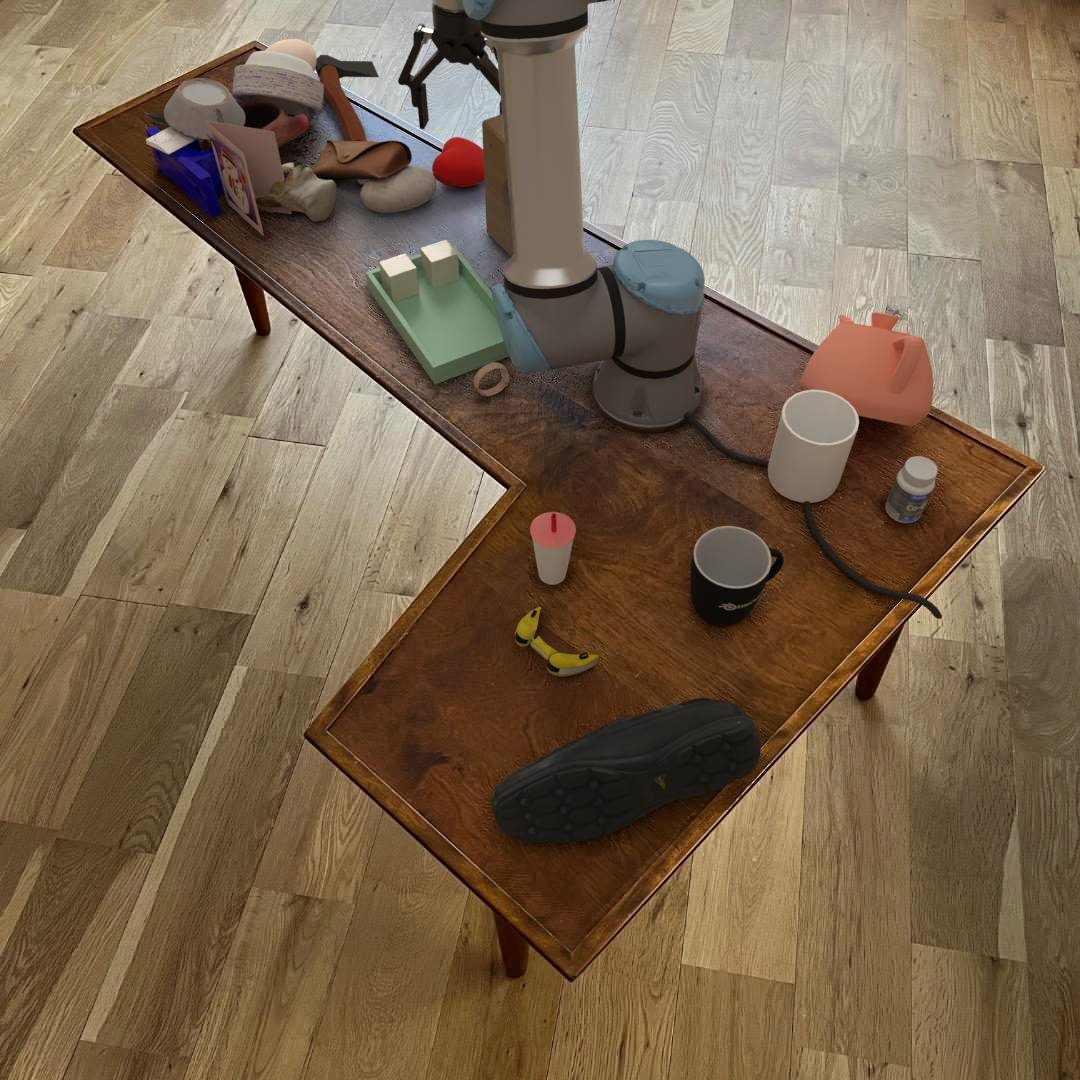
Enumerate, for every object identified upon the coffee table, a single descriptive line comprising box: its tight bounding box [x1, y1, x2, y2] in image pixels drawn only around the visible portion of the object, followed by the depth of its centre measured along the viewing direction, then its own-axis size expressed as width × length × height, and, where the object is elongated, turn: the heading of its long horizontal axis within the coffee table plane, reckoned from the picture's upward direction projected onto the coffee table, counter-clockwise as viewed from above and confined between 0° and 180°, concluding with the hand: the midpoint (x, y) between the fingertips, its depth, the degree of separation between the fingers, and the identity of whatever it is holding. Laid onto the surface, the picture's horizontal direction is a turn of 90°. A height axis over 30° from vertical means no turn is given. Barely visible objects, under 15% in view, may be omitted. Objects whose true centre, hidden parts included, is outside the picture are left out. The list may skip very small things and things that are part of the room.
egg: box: [264, 38, 317, 73], centre depth 198 cm, size 9×9×12 cm
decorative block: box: [481, 113, 514, 258], centre depth 166 cm, size 11×6×20 cm, turn 32°
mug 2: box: [767, 390, 860, 504], centre depth 141 cm, size 10×12×12 cm
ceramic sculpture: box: [253, 160, 337, 222], centre depth 177 cm, size 11×9×15 cm
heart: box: [431, 136, 485, 188], centre depth 183 cm, size 12×5×10 cm
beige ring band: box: [473, 361, 511, 397], centre depth 152 cm, size 3×5×5 cm, turn 118°
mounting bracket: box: [145, 125, 225, 219], centre depth 181 cm, size 18×7×6 cm
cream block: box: [419, 239, 460, 289], centre depth 166 cm, size 4×4×5 cm
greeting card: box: [206, 121, 293, 237], centre depth 173 cm, size 11×7×15 cm, turn 40°
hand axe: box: [315, 54, 380, 141], centre depth 197 cm, size 12×3×30 cm
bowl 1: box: [163, 77, 246, 141], centre depth 179 cm, size 13×13×5 cm
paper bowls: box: [231, 50, 324, 117], centre depth 189 cm, size 15×15×8 cm
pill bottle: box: [884, 455, 939, 524], centre depth 138 cm, size 5×5×8 cm
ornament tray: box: [365, 242, 509, 385], centre depth 162 cm, size 24×15×3 cm, turn 29°
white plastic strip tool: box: [145, 126, 196, 154], centre depth 180 cm, size 5×15×1 cm, turn 145°
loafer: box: [491, 697, 762, 844], centre depth 116 cm, size 10×29×10 cm
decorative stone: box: [359, 165, 438, 214], centre depth 178 cm, size 13×9×5 cm
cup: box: [529, 511, 577, 586], centre depth 131 cm, size 5×5×12 cm
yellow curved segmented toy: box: [514, 606, 600, 678], centre depth 127 cm, size 10×6×4 cm, turn 45°
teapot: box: [799, 311, 934, 427], centre depth 145 cm, size 25×17×13 cm
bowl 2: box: [239, 102, 310, 149], centre depth 186 cm, size 16×13×8 cm
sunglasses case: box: [311, 139, 413, 180], centre depth 181 cm, size 18×7×7 cm
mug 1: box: [689, 525, 785, 628], centre depth 129 cm, size 12×9×10 cm
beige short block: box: [378, 252, 419, 303], centre depth 164 cm, size 4×4×5 cm
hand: (464, 130), depth 178 cm, fingers open, 13 cm apart
